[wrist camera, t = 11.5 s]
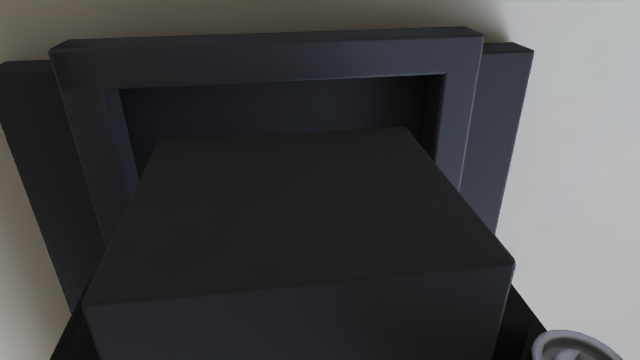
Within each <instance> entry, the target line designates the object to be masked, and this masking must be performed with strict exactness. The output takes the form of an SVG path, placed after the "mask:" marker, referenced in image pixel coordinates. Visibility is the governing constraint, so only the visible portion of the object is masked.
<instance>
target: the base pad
mask: <svg viewBox="0 0 640 360" xmlns="http://www.w3.org/2000/svg"><path fill="white" fill-rule="evenodd" d="M48 54H49V57H50V60H35V61H9V62H4V63H2V64H0V123H1V126H2V129H3V131H4V134H5V137H6V140H7V142H8V145H9V148H10V150H11V153H12V156H13V158H14V161H15V164H16V166H17V169H18V172H19V174H20V177H21V180H22V182H23V185H24V188H25V190H26V193H27V196H28V199H29V201H30V204H31V207H32V209H33V212H34V215H35V217H36V220H37V223H38V225H39V228H40V231H41V233H42V236H43V239H44V241H45V244H46V247H47V250H48V252H49V255H50V258H51V260H52V263H53V266H54V268H55V271H56V274H57V276H58V279H59V282H60V284H61V287H62V290H63V292H64V295H65V298H66V300H67V303H68V306H69V309H70V311H71V314H72V313H73V311H74V309H75V307H76V305H77V303H78V301H79V299H80V297H81V295H82V293H83V291H84V288H85V286H86V285H87V283H88V282H89V281H90V280H91V279H93V277H94V275H95V273H96V271H97V268H98V266H99V264H100V262H101V260H102V258H103V256H104V254H105V252H106V250H107V248H108V245H109V243H110V241H111V239H112V237H113V235H114V233H115V231H116V229H117V227H118V225H119V222H120V220H121V218H122V216H123V214H124V212H125V210H126V208H127V206H128V204H129V202H130V199H131V197H132V195H133V193H134V191H135V189H136V187H137V185H138V183H139V181H140V179H141V176H142V174H143V172H144V170H145V168H146V166H147V164H148V162H149V160H150V158H151V155H152V153H153V151H154V149H155V147H156V145H157V143H158V142H159V141H168V140H185V139H202V138H219V137H236V136H253V135H270V134H287V133H304V132H321V131H338V130H355V129H372V128H389V127H406V128H407V130H408V131H409V132H410V133H411V134H412V136H413V137H414V138H415V139H416V140H417V142H418V143H419V144H420V145H421V147H422V148H423V149H424V150H425V151H426V153H427V154H428V155H429V156H430V157H431V159H432V160H433V161H434V162H435V164H436V165H437V166H438V167H439V168H440V170H441V171H442V172H443V173H444V174H445V176H446V177H447V178H448V179H449V180H450V182H451V183H452V184H453V185H454V187H455V188H456V189H457V190H458V191H459V193H460V194H461V195H462V196H463V197H464V199H465V200H466V201H467V202H468V203H469V205H470V206H471V207H472V208H473V210H474V211H475V212H476V213H477V214H478V216H479V217H480V218H481V219H482V220H483V222H484V223H485V224H486V225H487V226H488V228H489V229H490V230H491V231H492V233H493V234H494V235H495V231H496V227H497V222H498V218H499V213H500V208H501V204H502V199H503V194H504V190H505V185H506V180H507V176H508V171H509V167H510V162H511V157H512V153H513V148H514V143H515V139H516V134H517V130H518V125H519V120H520V116H521V111H522V106H523V102H524V97H525V93H526V88H527V83H528V79H529V74H530V69H531V65H532V60H533V56H534V50H531V49H529V48H526V47H524V46H521V45H518V44H516V43H513V42H507V43H484V34H482V33H479V32H477V31H474V30H472V29H469V28H467V27H464V26H459V27H429V28H399V29H369V30H340V31H310V32H280V33H250V34H220V35H190V36H160V37H130V38H100V39H70V40H66V41H64V42H63V43H61V44H59V45H57V46H55V47H53V48H51V49H49V50H48Z"/></svg>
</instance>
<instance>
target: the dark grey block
mask: <svg viewBox="0 0 640 360" xmlns="http://www.w3.org/2000/svg"><path fill="white" fill-rule="evenodd" d="M515 266H516V264H515V260H514V258H513V257H512V256H511V254H510V253H509V252H508V251H507V250H506V248H505V247H504V246H503V245H502V243H501V242H500V241H499V240H498V239H497V237H496V236H495V235H494V234H493V233H492V231H491V230H490V229H489V228H488V226H487V225H486V224H485V223H484V222H483V220H482V219H481V218H480V217H479V216H478V214H477V213H476V212H475V211H474V210H473V208H472V207H471V206H470V205H469V203H468V202H467V201H466V200H465V199H464V197H463V196H462V195H461V194H460V193H459V191H458V190H457V189H456V188H455V187H454V185H453V184H452V183H451V182H450V180H449V179H448V178H447V177H446V176H445V174H444V173H443V172H442V171H441V170H440V168H439V167H438V166H437V165H436V164H435V162H434V161H433V160H432V159H431V157H430V156H429V155H428V154H427V153H426V151H425V150H424V149H423V148H422V147H421V145H420V144H419V143H418V142H417V140H416V139H415V138H414V137H413V136H412V134H411V133H410V132H409V131H408V130H407V128H406V127H389V128H372V129H355V130H338V131H321V132H304V133H287V134H270V135H253V136H236V137H219V138H202V139H185V140H168V141H159V142H158V143H157V145H156V147H155V149H154V151H153V153H152V155H151V158H150V160H149V162H148V164H147V166H146V168H145V170H144V172H143V174H142V176H141V179H140V181H139V183H138V185H137V187H136V189H135V191H134V193H133V195H132V197H131V199H130V202H129V204H128V206H127V208H126V210H125V212H124V214H123V216H122V218H121V220H120V222H119V225H118V227H117V229H116V231H115V233H114V235H113V237H112V239H111V241H110V243H109V245H108V248H107V250H106V252H105V254H104V256H103V258H102V260H101V262H100V264H99V266H98V268H97V271H96V273H95V275H94V277H93V279H92V281H91V283H90V285H89V287H88V289H87V291H86V294H85V296H84V298H83V300H82V304H81V305H82V309H83V312H84V315H85V318H86V321H87V323H88V326H89V329H90V332H91V335H92V338H93V340H94V343H95V346H96V349H97V352H98V354H99V357H100V360H492V357H493V353H494V349H495V345H496V341H497V337H498V333H499V329H500V325H501V321H502V317H503V313H504V310H505V306H506V302H507V298H508V294H509V290H510V286H511V282H512V278H513V274H514V270H515Z"/></svg>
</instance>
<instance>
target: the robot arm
mask: <svg viewBox="0 0 640 360" xmlns="http://www.w3.org/2000/svg"><path fill="white" fill-rule="evenodd" d="M91 281H92V279H91V280H90V281H89V282H88V283H87V285H86V286H85V288H84V291H83V293H82V295H81V297H80V299H79V301H78V303H77V305H76V307H75V309H74V311H73V313H72V315H71V317H70V319H69V321H68V323H67V325H66V327H65V330H64V332H63V334H62V336H61V338H60V340H59V342H58V344H57V346H56V348H55V350H54V352H53V354H52V356H51V358H50V360H100V357H99V354H98V352H97V349H96V346H95V343H94V340H93V338H92V335H91V332H90V329H89V326H88V323H87V321H86V318H85V315H84V312H83V309H82V305H81V304H82V300H83V298H84V296H85V294H86V291H87V289H88V287H89V285H90V283H91ZM492 360H623V359H622V358H621V357H620V356H619V355H618V354H616V353H615V352H614V351H613V350H612V349H611V348H610V347H608V346H606V345H605V344H603V343H602V342H600V341H598V340H597V339H595V338H592V337H590V336H587V335H585V334H582V333H579V332H574V331H569V330H551V331H548V332H547V330H546V329H545V328H544V326H543V325H542V324H541V322H540V321H539V320H538V318H537V317H536V316H535V314H534V313H533V312H532V311H531V309H530V308H529V307H528V305H527V304H526V303H525V301H524V300H523V299H522V297H521V296H520V295H519V293H518V292H517V291H516V289H515V288H514V287H513V285H512V284H511V286H510V290H509V294H508V298H507V302H506V306H505V310H504V313H503V317H502V321H501V325H500V329H499V333H498V337H497V341H496V345H495V349H494V353H493V357H492Z"/></svg>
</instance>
